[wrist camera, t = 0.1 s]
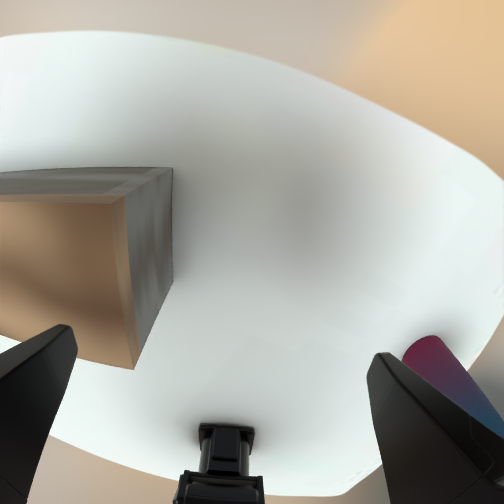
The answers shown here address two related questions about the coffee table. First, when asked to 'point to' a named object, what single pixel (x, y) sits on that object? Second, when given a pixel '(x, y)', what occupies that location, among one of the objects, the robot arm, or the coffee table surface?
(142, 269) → the block
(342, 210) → the coffee table surface
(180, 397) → the coffee table surface
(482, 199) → the coffee table surface
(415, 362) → the cup
